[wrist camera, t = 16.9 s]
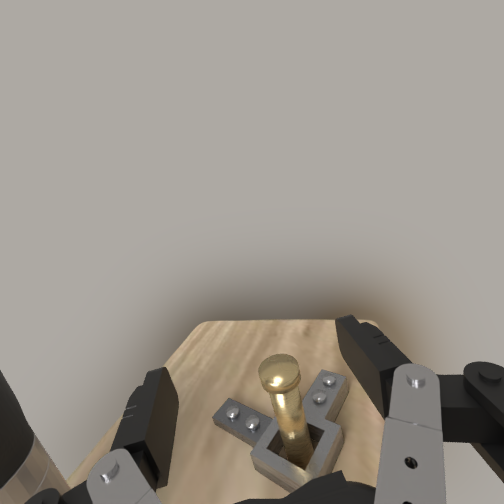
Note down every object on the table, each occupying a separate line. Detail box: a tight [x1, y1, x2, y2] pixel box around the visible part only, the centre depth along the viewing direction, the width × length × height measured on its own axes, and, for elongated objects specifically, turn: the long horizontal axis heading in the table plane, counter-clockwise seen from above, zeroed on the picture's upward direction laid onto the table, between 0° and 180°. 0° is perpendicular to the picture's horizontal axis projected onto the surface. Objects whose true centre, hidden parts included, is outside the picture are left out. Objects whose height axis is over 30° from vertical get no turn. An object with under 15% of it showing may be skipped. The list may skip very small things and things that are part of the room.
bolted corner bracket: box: [212, 370, 349, 493], centre depth 42 cm, size 18×16×4 cm
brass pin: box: [259, 354, 314, 471], centre depth 34 cm, size 5×5×14 cm
